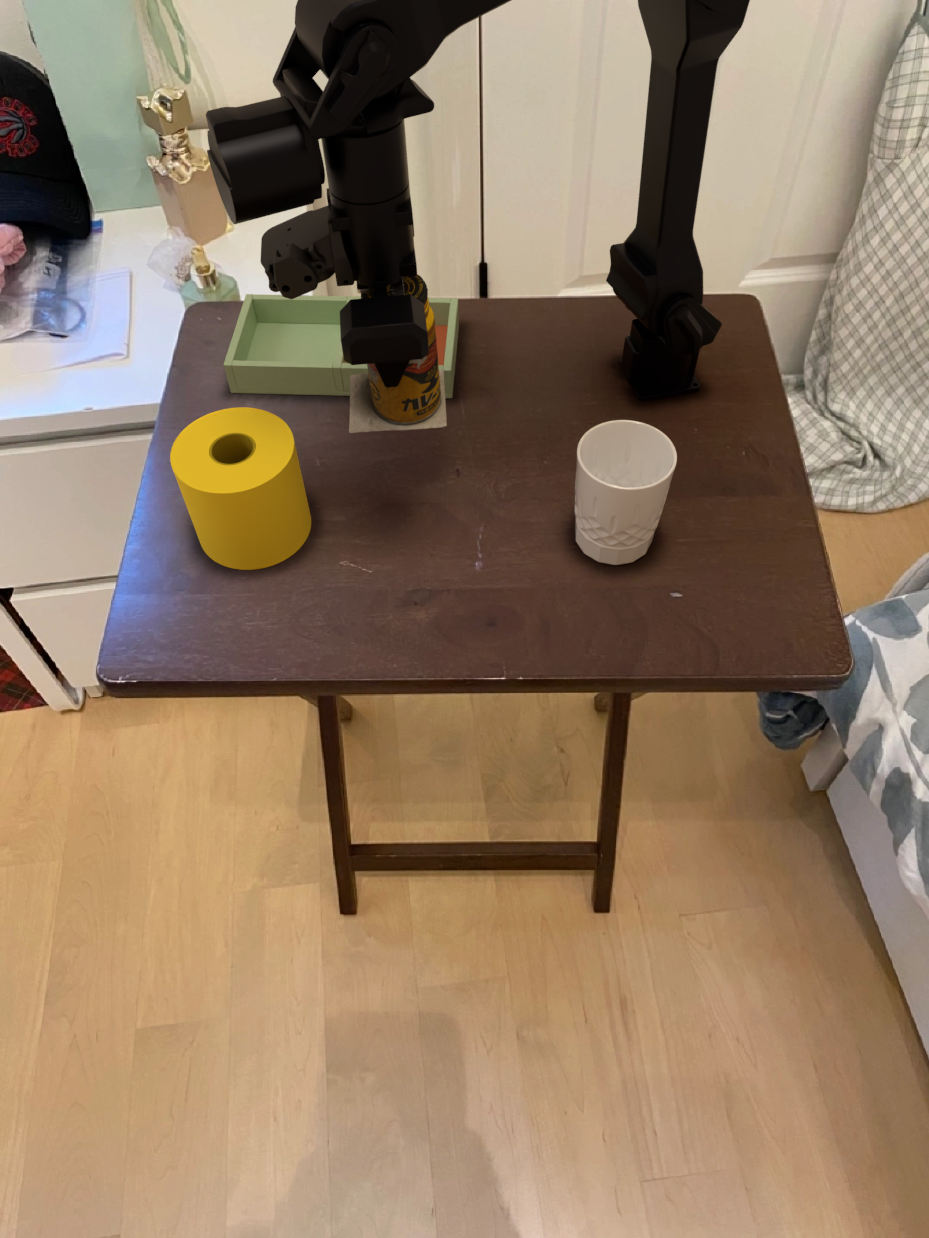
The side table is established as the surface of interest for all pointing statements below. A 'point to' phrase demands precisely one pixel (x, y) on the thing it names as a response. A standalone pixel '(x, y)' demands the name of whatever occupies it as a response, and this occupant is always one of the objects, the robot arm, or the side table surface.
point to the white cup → (621, 489)
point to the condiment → (402, 384)
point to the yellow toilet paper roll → (242, 487)
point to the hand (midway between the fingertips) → (389, 361)
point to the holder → (312, 345)
